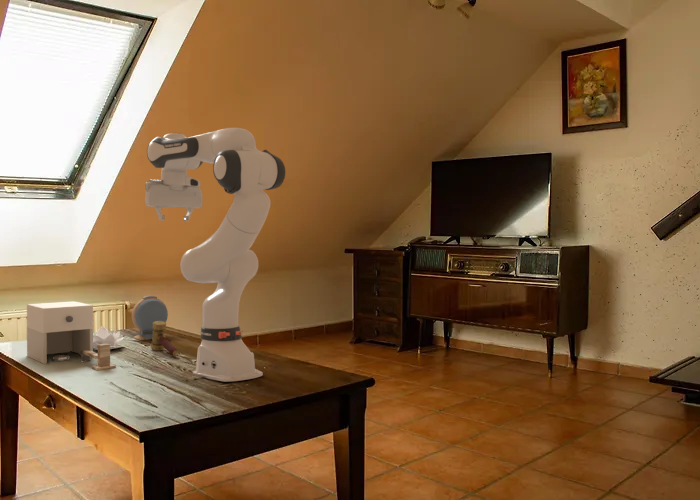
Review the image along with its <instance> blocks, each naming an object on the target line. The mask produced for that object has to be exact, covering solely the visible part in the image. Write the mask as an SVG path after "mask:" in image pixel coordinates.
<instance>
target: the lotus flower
mask: <svg viewBox="0 0 700 500" xmlns="http://www.w3.org/2000/svg"><path fill="white" fill-rule="evenodd" d="M116 331H117V329H115V330H114V332H113V334H111V333H110V334H109V330H108V329H107V328H106V327H105V326H103V325H102V326H100V327H99V328H98V329H97V331H96V332H95V334H93V351H94V350H96V351H98V344H110V350H112V349H118V348H122V347H126V345H121V346H120V345H119V346H116V345H117V344H119V343H120V342H122V341H123V340H124V338H125V337H124V336H123V337H121V338H120V336H121V331H117V332H116Z"/></svg>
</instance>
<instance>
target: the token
mask: <svg viewBox="0 0 700 500" xmlns="http://www.w3.org/2000/svg"><path fill="white" fill-rule="evenodd" d="M52 360H53V361H56V362H57V361H68V360H70V355H67V354H63V355H62V354H60V355H54V356H53V357H52Z"/></svg>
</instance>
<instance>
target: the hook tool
mask: <svg viewBox="0 0 700 500" xmlns="http://www.w3.org/2000/svg"><path fill="white" fill-rule="evenodd" d="M97 349H98V350H97V352H95V351H93V352H92V351H90V350H81V354H80V362H89V361H91V359H95V360H97V365H92V366H91V369H93V370H95V371H102V370H110V369H116V367H117V365H115V364H113V363H111V349H110V344H98V348H97ZM90 357H92V358H90Z"/></svg>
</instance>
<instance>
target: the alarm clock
mask: <svg viewBox="0 0 700 500" xmlns="http://www.w3.org/2000/svg"><path fill="white" fill-rule="evenodd" d="M168 312H169V311H168V308H167V305H166V304H165V303H164V301H162V300H161V299H159V298H158V297H157V296H155V295H145V296H142V299H139V300H138V301H137V302H136V303H135V305H133V308H132V310H131V321H132V323H133V326H134V327H135V328H136V329H138V330H139V333H138V334H137V335H134V336H133V338H135V339H136V340H139V341H145V340H147V341H148V340H152V338H153V330H154V329H153V322H155V321H163V322H165V323H166V324H167V320H168V316H169V313H168ZM164 337H165V338H167V337H166V335H164Z"/></svg>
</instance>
